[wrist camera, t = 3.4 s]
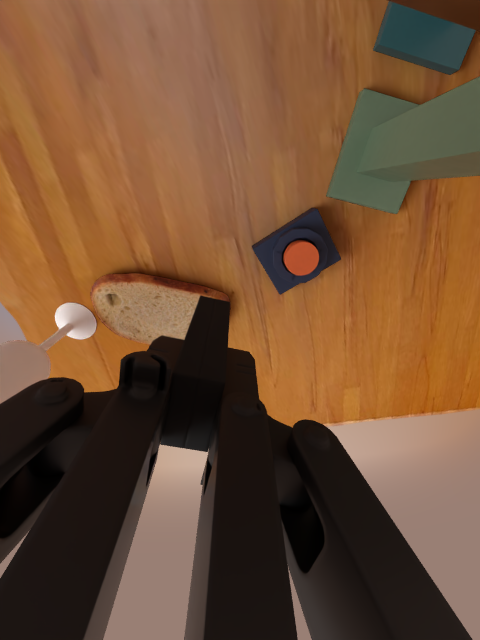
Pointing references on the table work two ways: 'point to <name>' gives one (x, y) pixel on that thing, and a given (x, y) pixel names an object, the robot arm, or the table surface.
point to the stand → (406, 145)
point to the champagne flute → (40, 350)
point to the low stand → (423, 39)
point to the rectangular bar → (448, 10)
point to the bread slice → (147, 305)
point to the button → (301, 257)
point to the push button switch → (276, 243)
